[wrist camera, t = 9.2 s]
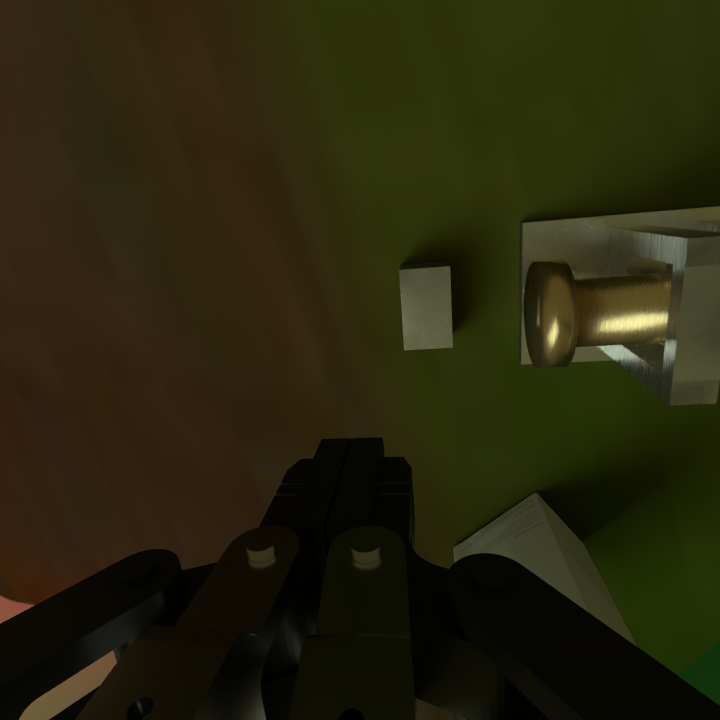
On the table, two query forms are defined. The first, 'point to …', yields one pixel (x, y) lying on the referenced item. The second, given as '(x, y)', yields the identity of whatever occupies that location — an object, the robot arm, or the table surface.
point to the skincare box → (547, 556)
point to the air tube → (590, 311)
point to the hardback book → (705, 674)
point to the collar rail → (609, 258)
